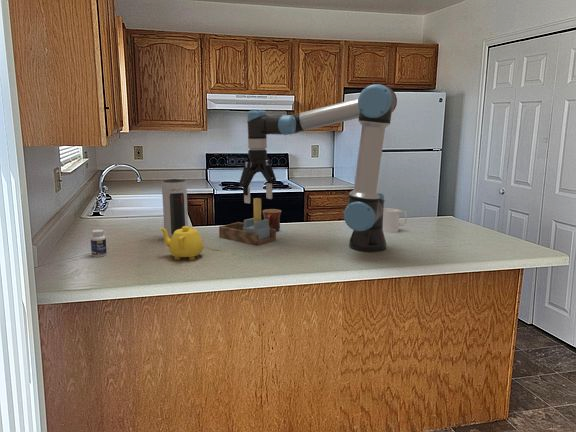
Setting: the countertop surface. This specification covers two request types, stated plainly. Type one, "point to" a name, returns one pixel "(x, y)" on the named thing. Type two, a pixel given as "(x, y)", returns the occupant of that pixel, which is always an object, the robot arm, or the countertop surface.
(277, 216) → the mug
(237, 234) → the bay
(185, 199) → the speaker
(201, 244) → the teapot
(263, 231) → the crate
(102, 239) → the pill bottle
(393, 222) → the cup
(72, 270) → the countertop surface
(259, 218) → the peg
